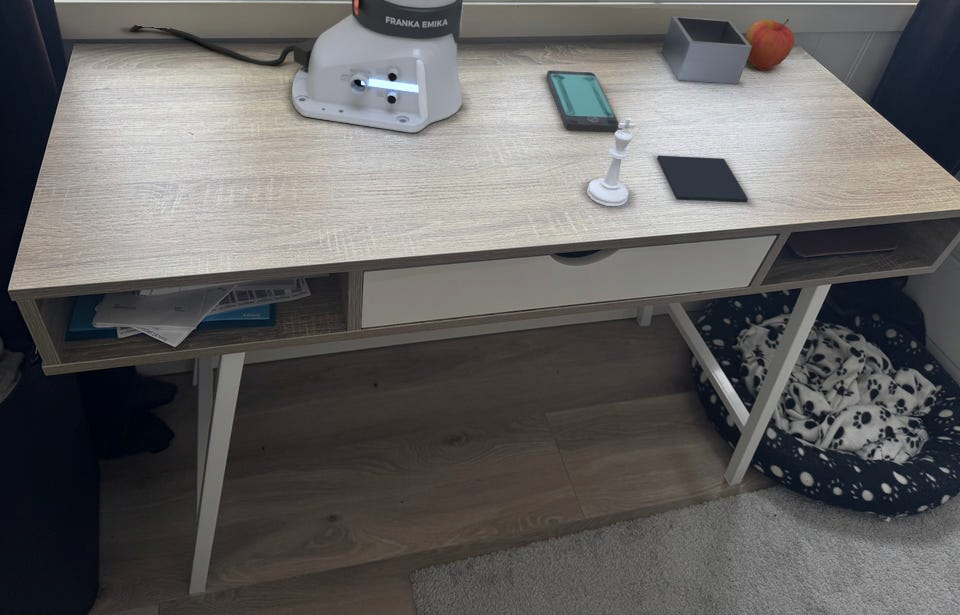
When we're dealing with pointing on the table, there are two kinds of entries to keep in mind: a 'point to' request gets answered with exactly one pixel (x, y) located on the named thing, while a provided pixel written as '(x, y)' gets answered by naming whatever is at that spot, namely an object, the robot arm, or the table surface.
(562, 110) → the smartphone
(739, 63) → the holder
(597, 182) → the chess piece
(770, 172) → the table surface
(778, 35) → the apple
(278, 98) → the table surface
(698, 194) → the mat
